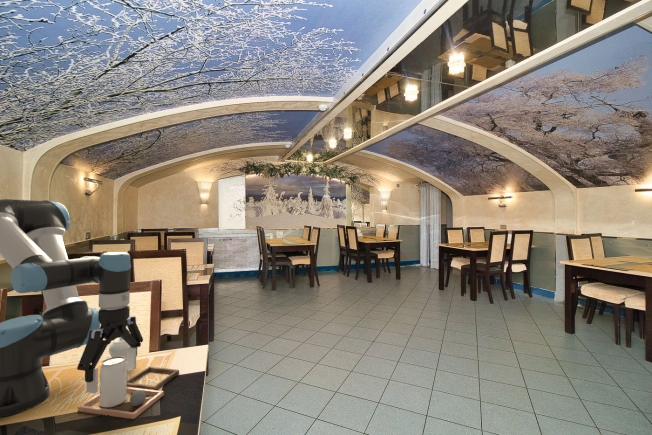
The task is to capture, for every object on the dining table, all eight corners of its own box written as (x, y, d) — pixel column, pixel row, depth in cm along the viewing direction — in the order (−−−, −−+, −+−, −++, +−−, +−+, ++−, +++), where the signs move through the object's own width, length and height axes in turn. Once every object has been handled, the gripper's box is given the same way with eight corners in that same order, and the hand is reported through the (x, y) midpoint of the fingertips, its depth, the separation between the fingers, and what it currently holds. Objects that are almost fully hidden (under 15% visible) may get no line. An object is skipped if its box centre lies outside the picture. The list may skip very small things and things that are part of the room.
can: (113, 410, 88) (113, 366, 88) (93, 407, 90) (94, 364, 90) (131, 397, 95) (132, 356, 95) (113, 394, 96) (113, 354, 96)
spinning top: (118, 363, 117) (119, 330, 117) (139, 363, 116) (139, 330, 116) (103, 373, 109) (103, 338, 109) (125, 374, 109) (125, 338, 109)
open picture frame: (77, 411, 88) (77, 406, 88) (113, 389, 99) (113, 385, 99) (133, 419, 85) (133, 414, 85) (163, 395, 96) (163, 391, 96)
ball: (126, 408, 89) (126, 393, 89) (137, 400, 93) (137, 386, 93) (138, 409, 89) (138, 395, 89) (149, 401, 93) (149, 387, 93)
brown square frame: (122, 387, 100) (122, 383, 100) (149, 370, 112) (149, 366, 112) (155, 391, 98) (155, 387, 98) (179, 373, 110) (179, 369, 110)
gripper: (85, 321, 80) (84, 406, 80) (156, 296, 104) (155, 361, 104) (60, 318, 81) (59, 402, 81) (136, 295, 105) (134, 359, 106)
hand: (113, 379), depth 93 cm, fingers open, 13 cm apart
